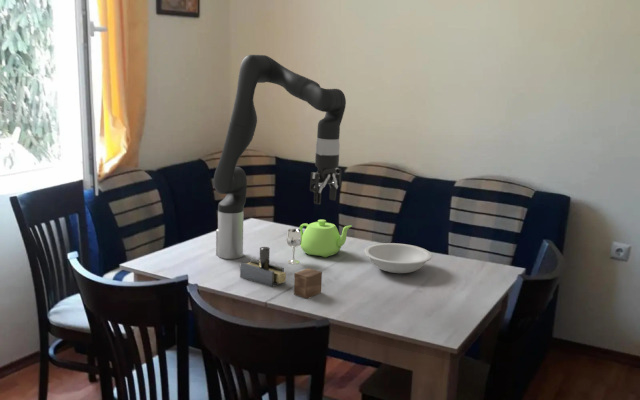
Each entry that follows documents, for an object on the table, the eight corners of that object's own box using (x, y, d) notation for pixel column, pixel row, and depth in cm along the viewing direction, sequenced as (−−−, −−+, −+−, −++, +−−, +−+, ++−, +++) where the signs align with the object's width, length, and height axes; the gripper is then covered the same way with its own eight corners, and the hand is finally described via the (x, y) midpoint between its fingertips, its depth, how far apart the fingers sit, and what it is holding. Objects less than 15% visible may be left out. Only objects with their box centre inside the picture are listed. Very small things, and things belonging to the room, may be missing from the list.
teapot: (357, 253, 248) (358, 220, 245) (342, 263, 234) (344, 229, 231) (305, 244, 256) (306, 212, 253) (289, 254, 243) (290, 220, 240)
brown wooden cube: (294, 294, 202) (294, 273, 200) (307, 288, 207) (308, 268, 206) (307, 298, 198) (308, 277, 197) (321, 292, 204) (321, 271, 202)
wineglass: (299, 265, 230) (300, 233, 228) (283, 263, 231) (284, 231, 229) (302, 260, 236) (303, 229, 233) (287, 258, 237) (288, 227, 234)
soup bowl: (368, 257, 243) (368, 240, 241) (431, 263, 238) (433, 246, 237) (358, 277, 220) (359, 259, 218) (429, 284, 215) (430, 266, 214)
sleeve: (240, 277, 215) (240, 263, 214) (252, 272, 220) (252, 259, 219) (272, 286, 207) (272, 272, 206) (283, 282, 212) (284, 267, 211)
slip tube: (243, 272, 216) (243, 244, 214) (249, 270, 219) (249, 242, 217) (279, 283, 207) (280, 254, 205) (285, 281, 210) (286, 252, 207)
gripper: (330, 148, 211) (328, 196, 215) (304, 153, 200) (302, 203, 203) (349, 151, 207) (346, 200, 211) (324, 156, 196) (321, 207, 199)
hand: (324, 201), depth 207 cm, fingers open, 8 cm apart
